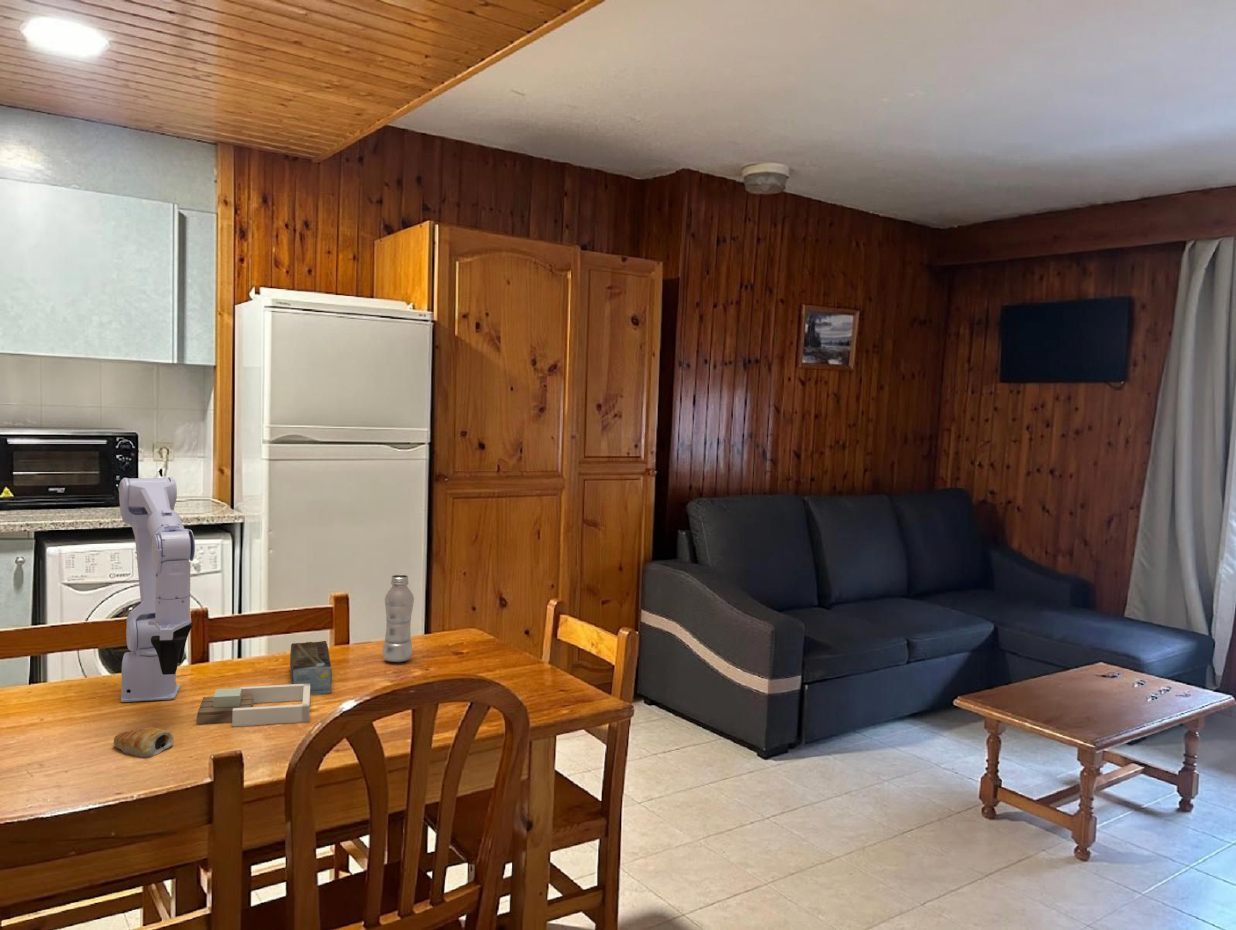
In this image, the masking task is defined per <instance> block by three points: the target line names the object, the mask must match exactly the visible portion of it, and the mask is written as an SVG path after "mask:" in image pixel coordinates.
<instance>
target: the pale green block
mask: <svg viewBox="0 0 1236 930" xmlns="http://www.w3.org/2000/svg"><path fill="white" fill-rule="evenodd" d="M241 689H242V688H239V687H237V688H216V689H215V692H214V694H213V696H212V697H213V708H214V707H234V706H239V705H240V701H241Z"/></svg>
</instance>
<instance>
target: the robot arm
mask: <svg viewBox="0 0 1236 930" xmlns="http://www.w3.org/2000/svg"><path fill="white" fill-rule="evenodd" d="M118 487H119V490H118V499H119V509H120V516H121V518H122V522H123V523H125V524H127V525H129V526H130V527H131V528H132V531H133V535H134V541H135V553H136V562H137V573H138V586H139V587H138V588H139V595H140V604H138V605H137V606H135V607H134V608H133V609H131V610H130V611H129V612H128V614H127V617H126V630H125V632H126V633H125V635H126V636H125V637H126V646H127V649H128V650H129V651H127V652H124V654H123V657H122V661H121V681H120V682H121V689H120V691H121V696H120V697H121V698H120V702H121V703H129V702H133V703H134V702H149V701H166V700H167V701H169V700H174V699H176V697H177V695H178V693H179V691H180V689H181V684H177V670H178V665H179V664H181V663H182V661H183V658H184V654H185V649H186V643H187V641H188V637H189V634H190V632H191V630H192V629H193V626H194V623H193V622H192V618H191V562H193V561H194V559H195V551H196V541H195V536H194V535H195V534H194V533H193V531H192V530H191V529H189V528H185V526H184V524H183V522H182V519H181V517H180V514H179V513H177V511H175V507H176V503H177V499H178V498H177V497H178V490H177V489H178V488H177V483H176V480H175V479H174V478H173V477H171V476H169V477H143V478H142V477H140V478H139V477H138V478H133V477H131V478H128V477H123V478H122V479H121V480H120V482H119V485H118ZM190 561H191V562H190Z"/></svg>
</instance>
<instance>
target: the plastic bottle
mask: <svg viewBox="0 0 1236 930" xmlns="http://www.w3.org/2000/svg"><path fill="white" fill-rule="evenodd" d="M409 583H410V582H409V575H406V574H393V575H391V581H390V584H391V586H392V587H390V589H389V590H388V591H387V593H386V594H385V597H384V607H385V613H386V614H385V615H386V618H385V619H386V624H385V625H386V629H385V635H384V642H383V647H382V656H383V658H384V660H385V661H387V662H390V663H402V662H406V661H409V660H410V658H411V657H412V655H413V654H412V653H413V644H412V638H411V637H412V635H411V634H412V633H411V624H412V623H411V622H412V613H413V608H414V602H415V598H414V597H415V596H414V594H413V592H412V591H411V589H410V588H409V587H408V585H409Z"/></svg>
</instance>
